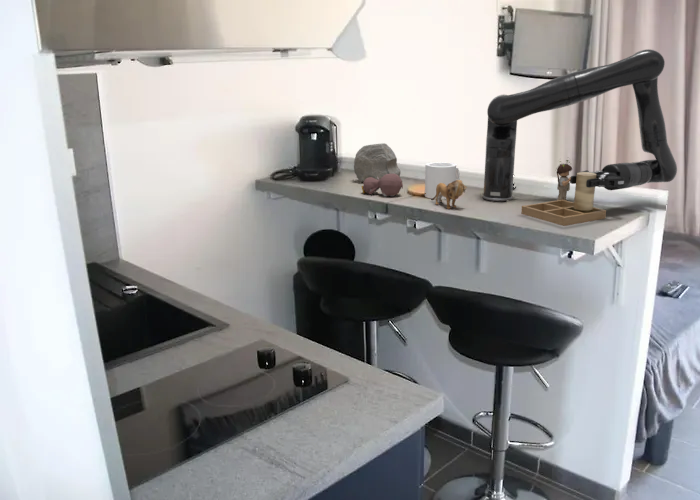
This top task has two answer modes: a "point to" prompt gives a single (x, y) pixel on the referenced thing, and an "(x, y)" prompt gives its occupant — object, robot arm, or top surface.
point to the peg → (584, 192)
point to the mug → (439, 176)
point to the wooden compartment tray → (562, 212)
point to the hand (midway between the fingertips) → (579, 181)
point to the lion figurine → (449, 192)
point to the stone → (375, 162)
